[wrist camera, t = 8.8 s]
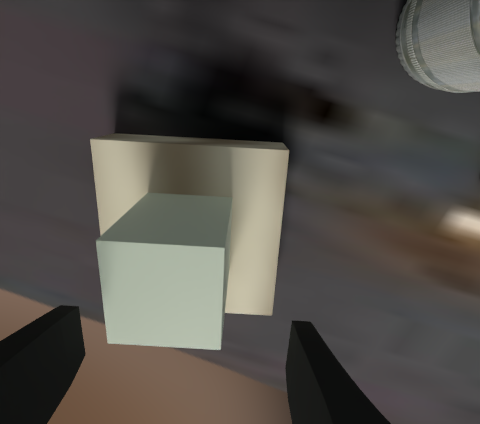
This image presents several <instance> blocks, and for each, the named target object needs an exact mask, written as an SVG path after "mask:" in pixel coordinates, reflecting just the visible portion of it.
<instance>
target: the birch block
mask: <svg viewBox="0 0 480 424" xmlns="http://www.w3.org/2000/svg"><path fill="white" fill-rule="evenodd" d="M90 141H91V150H92V159H93V169H94V178H95V187H96V196H97V205H98V215H99V224H100V233H101V235H102V234H103V233H105V232H106V231H107V230H108V229H109V228H110V227H111V226H112V225H113V224H114V223H115V222H116V221H118V220H119V219H120V218H121V217H122V216H123V215H124V214H125V213H126V212H127V211H128V210H129V209H131V208H132V207H133V206H134V205H135V204H136V203H137V202H138V201H139V200H140V199H141V198H142V197H144V196H145V195H146V194H147V193H164V194H182V195H200V196H218V197H233V198H232V220H231V242H230V264H229V278H228V287H227V296H226V306H225V313H238V314H255V315H272V309H273V300H274V291H275V281H276V272H277V262H278V253H279V243H280V234H281V224H282V215H283V205H284V196H285V186H286V177H287V167H288V158H289V149H288V148H287V147H286V146H285V145H284V144H283V143H279V142H261V141H243V140H225V139H207V138H190V137H172V136H154V135H136V134H119V133H113V134H109V135H105V136H101V137H97V138H93V139H90Z"/></svg>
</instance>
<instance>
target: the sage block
mask: <svg viewBox="0 0 480 424" xmlns="http://www.w3.org/2000/svg"><path fill="white" fill-rule="evenodd" d="M232 198H233V197H218V196H200V195H182V194H164V193H147V194H146V195H145V196H144V197H142V198H141V199H140V200H139V201H138V202H137V203H136V204H135V205H134V206H133V207H132V208H131V209H129V210H128V211H127V212H126V213H125V214H124V215H123V216H122V217H121V218H120V219H119V220H118V221H116V222H115V223H114V224H113V225H112V226H111V227H110V228H109V229H108V230H107V231H106V232H105V233H103V234H102V235H101V236H100V237H99V238H98V239H97V240H96V246H97V255H98V263H99V272H100V281H101V289H102V298H103V307H104V315H105V324H106V332H107V341H108V343H110V344H128V345H146V346H162V347H179V348H196V349H213V350H221V343H222V333H223V324H224V315H225V306H226V296H227V287H228V278H229V264H230V242H231V220H232Z"/></svg>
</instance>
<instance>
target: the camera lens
mask: <svg viewBox="0 0 480 424" xmlns="http://www.w3.org/2000/svg"><path fill="white" fill-rule="evenodd" d="M396 45H397V47H396V51H397V52H398V58H399V59H400V63H401V65H403V67H404V70H405V71H407V72H408V74H409V76H411V77H413V79H414V80H417V81H418V82H419V83H421V84H424V85H426V86H428V87H431V88H434V89H437V90H444V91H448V92H454V93H464V92H475V91H480V0H407V2H406V4H405V5H404V7H403V9H402V13H401V14H400V17H399V22H398V24H397V31H396Z"/></svg>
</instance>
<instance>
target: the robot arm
mask: <svg viewBox="0 0 480 424" xmlns="http://www.w3.org/2000/svg"><path fill="white" fill-rule="evenodd" d="M84 356H85V348H84V341H83V335H82V327H81V320H80V313H79V307H78V306H63V305H61V306H59V307H57V308H55V309H53V310H51V311H50V312H48V313H46V314H44V315H43V316H41V317H39V318H38V319H36V320H35V321H33V322H31V323H30V324H28V325H26V326H25V327H23V328H21V329H20V330H18V331H17V332H15V333H13V334H11V335H10V336H8V337H6V338H5V339H3V340H1V341H0V424H47V423H48V421H49V420H50V418H51V416H52V415H53V413H54V412H55V410H56V408H57V407H58V405H59V404H60V402H61V400H62V399H63V397H64V395H65V394H66V392H67V391H68V389H69V387H70V386H71V384H72V381H73V380H74V378H75V376H76V373H77V372H78V369H79V367H80V365H81V363H82V361H83V359H84ZM286 381H287V393H288V402H289V407H290V413H291V418H292V424H391V423H390V422H389V421H388V420H387V419H386V418H385V417H384V416H383V415H382V414H381V413H380V412H379V411H378V409H377V408H376V407H375V406H374V405H373V404H372V403H371V402H370V400H369V399H368V398H367V397H366V396H365V394H364V393H363V392H362V391H361V390H360V388H359V387H358V386H357V385H356V384H355V382H354V381H353V380H352V379H351V377H350V376H349V375H348V373H347V372H346V371H345V369H344V368H343V367H342V366H341V364H340V363H339V362H338V360H337V359H336V358H335V356H334V355H333V353H332V352H331V351H330V349H329V348H328V346H327V345H326V343H325V342H324V341H323V339H322V338H321V336H320V335H319V333H318V332H317V330H316V329H315V327H314V326H313V324H312V323H311V322H306V321H292V325H291V332H290V339H289V347H288V354H287V361H286Z"/></svg>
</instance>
